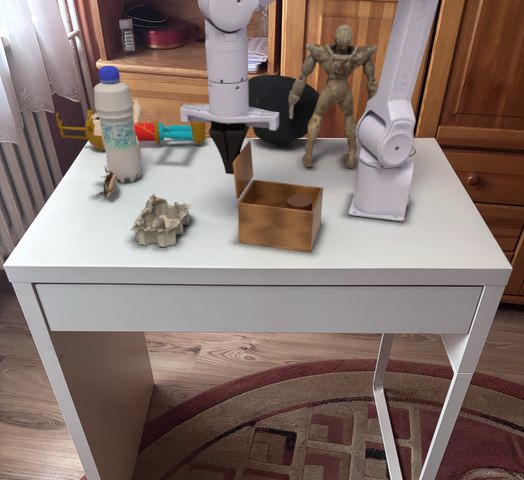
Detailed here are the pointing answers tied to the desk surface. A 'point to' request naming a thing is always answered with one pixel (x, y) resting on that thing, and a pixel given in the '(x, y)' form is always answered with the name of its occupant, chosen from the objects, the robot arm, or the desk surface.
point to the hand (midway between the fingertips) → (231, 171)
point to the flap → (243, 169)
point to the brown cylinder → (299, 202)
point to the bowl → (281, 107)
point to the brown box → (278, 216)
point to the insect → (109, 183)
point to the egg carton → (161, 222)
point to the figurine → (335, 86)
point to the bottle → (117, 124)
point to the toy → (139, 130)
